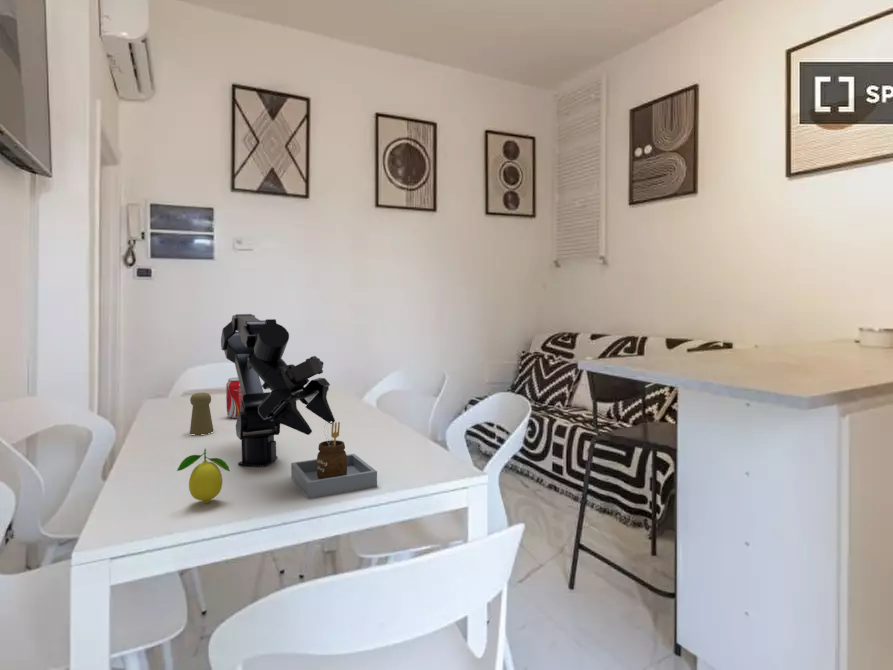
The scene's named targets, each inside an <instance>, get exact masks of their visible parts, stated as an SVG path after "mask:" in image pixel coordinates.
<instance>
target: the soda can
mask: <svg viewBox="0 0 893 670" xmlns="http://www.w3.org/2000/svg"><path fill="white" fill-rule="evenodd" d="M225 385H226V387H225V388H226V389H225V394H226V396H225V398H226V399H225V400H226V402H225V405H226V414H227V416H228V417H229V418H231V417H232V418H231V419H234V418H237V417H238V413H239V412H240V409H241V402H242V400H243V395H242V391H241V387H240V383H239V379H238V376H237V377H231V378H230V377H229V378H228V379H227V383H226V384H225Z"/></svg>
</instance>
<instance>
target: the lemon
mask: <svg viewBox="0 0 893 670" xmlns="http://www.w3.org/2000/svg"><path fill="white" fill-rule="evenodd" d="M203 449H204V452H203V453H202V454H199V455H198V454H191V455H190V456H186V457H185V458H184V459H183V460H182V461H181V463H180V464H179V466H178V467H177V469H176V471H177V472H179V471H183V470H185V469H187V468H188V467H190V466H192V464H194V463H196V462H197V461H198V460H199V459H200V458H201V457H202V456H203V458H204V460H203V461H202V462H201V463H198V465H196V466H195V467H194V468H193V469H192V471H191V473H190V477H189V481H188V490H189V493H190V495H191V496H192V498H193V499H195V500H197V501H201V502H204V503H205V504H209V503H210V501H211V500H213V499H214V498H215V497H217V496H219V494H220V492H221V490H222V487H223V475H222V472H221V470H220V468H222V469H223V470H226V471H228V472H230V467H229V465H228V464H227V463H226V461H224V460H223V459H222V458H219V457H212V458H209V457H208V456H207V452H206V451H207V448H203ZM207 459H208V460H209V461H208V460H207ZM218 466H219V467H220V468H219V467H218Z"/></svg>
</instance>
